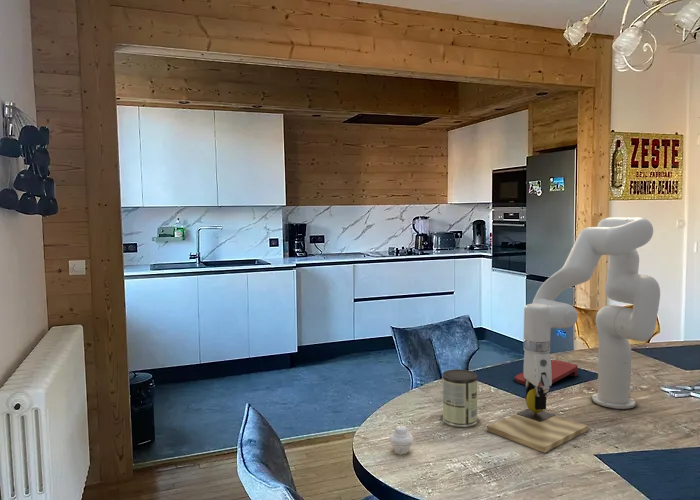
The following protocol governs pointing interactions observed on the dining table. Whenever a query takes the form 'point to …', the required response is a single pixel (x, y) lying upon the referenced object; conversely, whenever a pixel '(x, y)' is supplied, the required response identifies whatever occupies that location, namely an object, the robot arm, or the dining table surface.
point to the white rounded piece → (401, 440)
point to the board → (537, 429)
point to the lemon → (532, 401)
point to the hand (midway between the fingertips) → (535, 404)
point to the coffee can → (460, 398)
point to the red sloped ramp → (554, 371)
